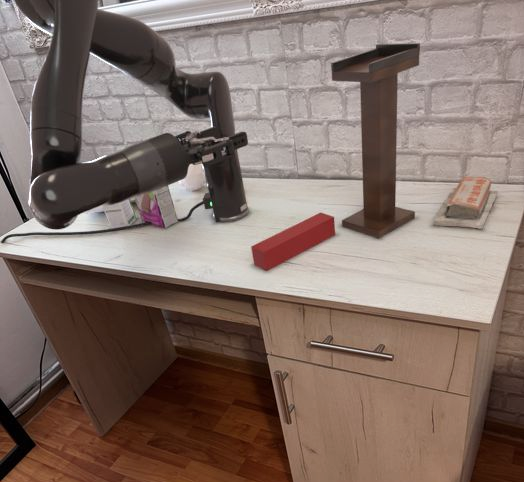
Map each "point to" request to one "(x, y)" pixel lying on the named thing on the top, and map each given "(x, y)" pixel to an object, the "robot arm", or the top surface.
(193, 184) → the decorative ball
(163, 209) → the candy bar box
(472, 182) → the packaged product
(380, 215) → the wooden lectern
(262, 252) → the long red slab
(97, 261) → the top surface
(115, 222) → the syrup box
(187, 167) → the robot arm
